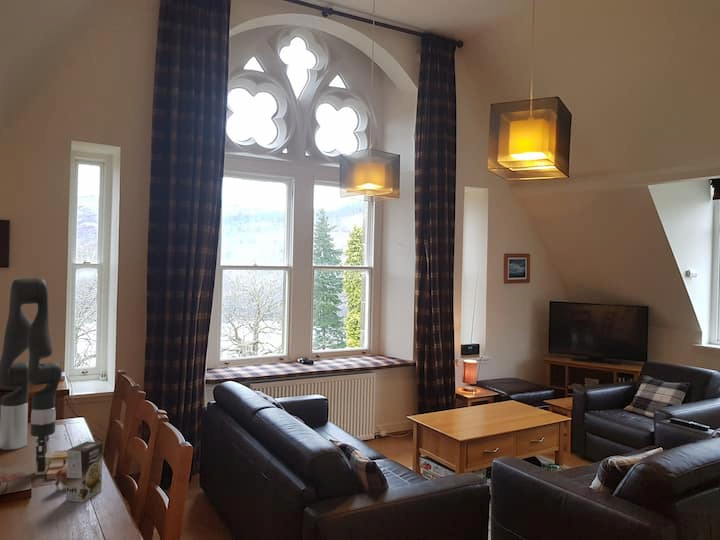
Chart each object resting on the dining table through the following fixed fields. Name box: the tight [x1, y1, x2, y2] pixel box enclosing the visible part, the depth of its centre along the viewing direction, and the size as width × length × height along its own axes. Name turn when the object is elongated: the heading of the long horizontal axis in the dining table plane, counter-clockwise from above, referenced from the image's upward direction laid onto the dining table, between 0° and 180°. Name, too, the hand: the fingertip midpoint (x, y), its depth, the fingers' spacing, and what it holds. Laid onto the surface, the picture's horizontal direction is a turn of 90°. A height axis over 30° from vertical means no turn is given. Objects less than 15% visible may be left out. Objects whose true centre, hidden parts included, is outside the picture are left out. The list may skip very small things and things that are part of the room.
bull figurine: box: [54, 467, 67, 492], centre depth 183 cm, size 4×13×8 cm, turn 161°
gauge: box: [34, 452, 68, 476], centre depth 194 cm, size 4×10×6 cm, turn 114°
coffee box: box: [65, 441, 104, 503], centre depth 175 cm, size 9×6×16 cm
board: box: [46, 449, 68, 480], centre depth 199 cm, size 24×6×2 cm, turn 24°
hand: (41, 468), depth 193 cm, fingers closed on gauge, 4 cm apart
